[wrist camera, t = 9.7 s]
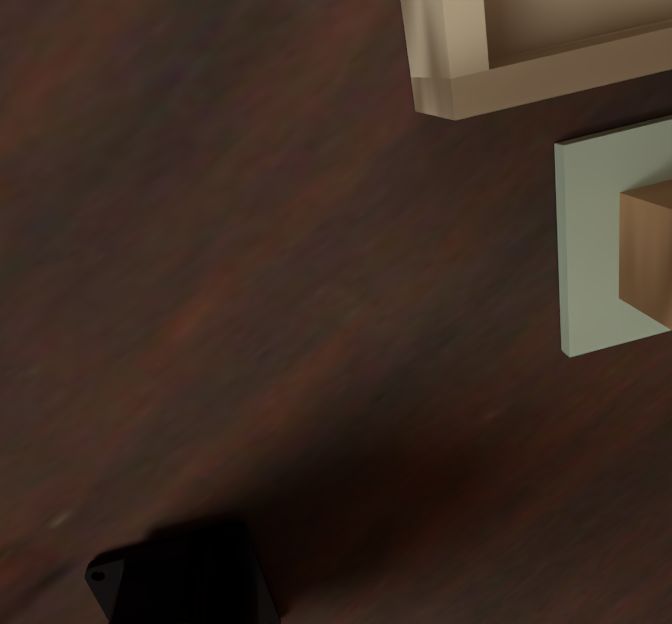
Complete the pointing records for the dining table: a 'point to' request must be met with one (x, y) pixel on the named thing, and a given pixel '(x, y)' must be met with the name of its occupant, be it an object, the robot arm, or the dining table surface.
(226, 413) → the dining table surface
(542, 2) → the access box
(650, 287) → the teak block
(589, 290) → the pad
